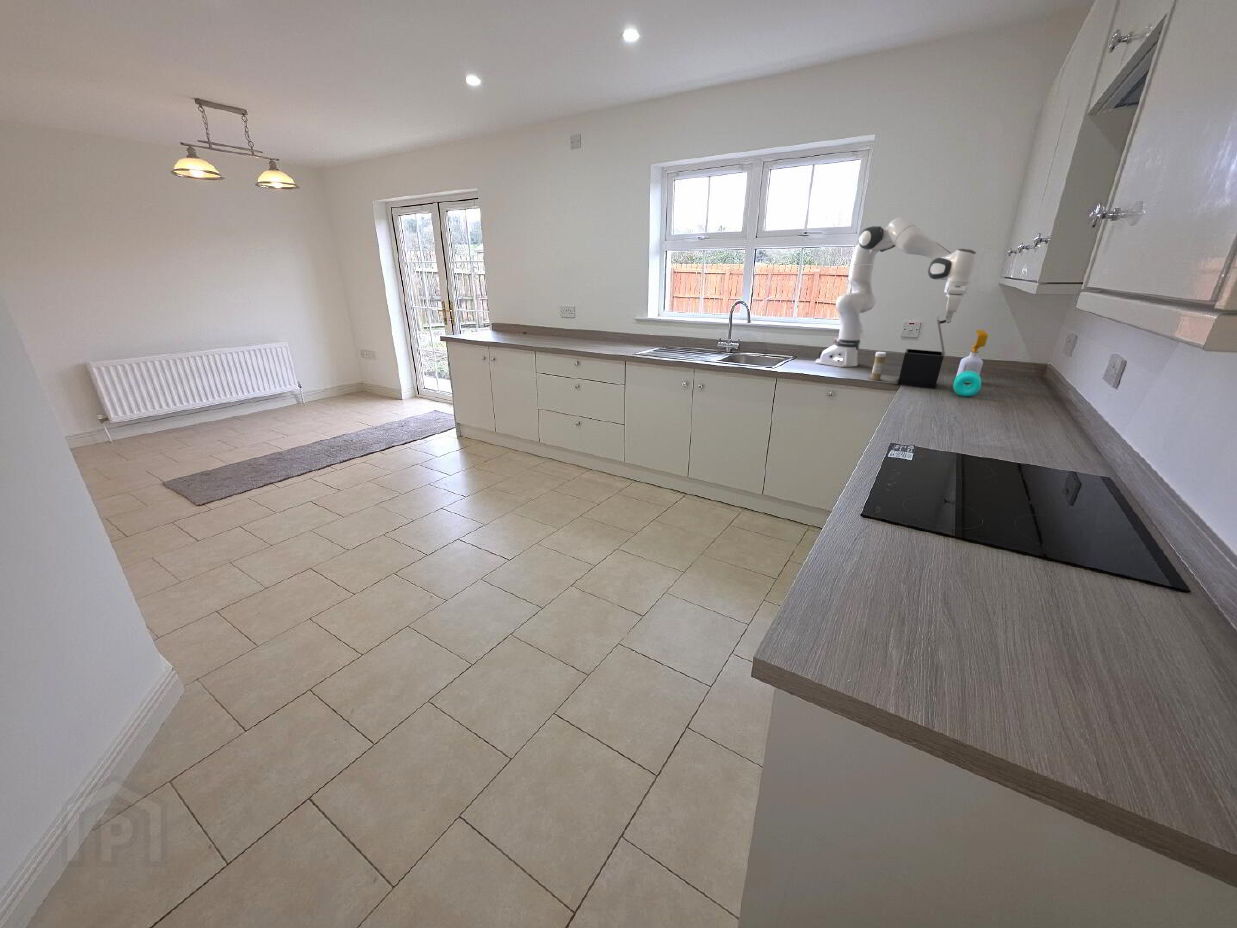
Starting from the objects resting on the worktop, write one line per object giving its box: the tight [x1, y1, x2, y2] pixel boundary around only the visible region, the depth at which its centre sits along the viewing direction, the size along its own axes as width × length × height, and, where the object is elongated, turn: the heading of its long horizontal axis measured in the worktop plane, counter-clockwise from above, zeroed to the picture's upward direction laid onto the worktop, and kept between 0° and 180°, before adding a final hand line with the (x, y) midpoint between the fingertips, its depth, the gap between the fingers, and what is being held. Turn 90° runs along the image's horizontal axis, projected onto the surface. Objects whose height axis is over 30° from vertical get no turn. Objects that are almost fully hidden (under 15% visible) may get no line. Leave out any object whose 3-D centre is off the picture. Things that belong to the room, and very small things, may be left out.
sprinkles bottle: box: [870, 351, 887, 381], centre depth 241 cm, size 5×5×13 cm
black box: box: [897, 348, 945, 390], centre depth 232 cm, size 16×13×15 cm
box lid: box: [936, 316, 951, 356], centre depth 222 cm, size 16×13×5 cm
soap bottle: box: [955, 329, 989, 384], centre depth 235 cm, size 9×9×25 cm
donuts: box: [952, 371, 982, 397], centre depth 215 cm, size 10×10×10 cm
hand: (947, 321), depth 220 cm, fingers open, 8 cm apart
